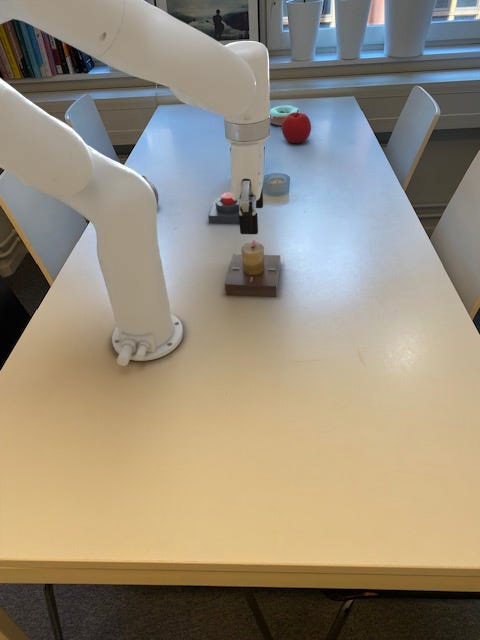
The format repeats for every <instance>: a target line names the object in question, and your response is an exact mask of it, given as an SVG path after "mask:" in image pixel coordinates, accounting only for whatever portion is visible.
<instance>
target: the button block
mask: <svg viewBox="0 0 480 640" xmlns="http://www.w3.org/2000/svg"><path fill="white" fill-rule="evenodd" d="M236 201H237V202H236V203H234V204H223V203H222V198H221V195H220V196H218V197H217V198H214V200H213V202H212V204H211V208H210V210H209V212H208V224H211V225H212V224H213V225H240V223H239V207H240V197H239V199H238V200H236Z"/></svg>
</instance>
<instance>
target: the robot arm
mask: <svg viewBox="0 0 480 640" xmlns="http://www.w3.org/2000/svg"><path fill="white" fill-rule="evenodd" d="M11 20H17V21H21V22H23V23H25V24H28V25H30V26H32V27H34V28H35V29H38V30H40V31H41V32H43V33H45V34H47V35H50V36H51V37H53V38H55V39H57V40H59V41H61V42H63V43H65V44H67V45H69V46H71V47H73V48H74V49H77V50H79V51H80V52H83V53H84V54H86V55H88V56H89V57H92V58H94V59H96V60H98V61H100V62H101V63H103V64H105V65H107V66H109V67H110V68H113V69H115V70H117V71H120V72H123V73H124V74H127V75H130V76H132V77H135V78H138V79H141V80H145V81H147V82H152V83H154V84H155V83H156V84H159V85H161V86H164V87H167V88H169V89H170V92H171V93H172V94H173V96H174V97H175V98H176V99H177V100H178V101H180V102H181V103H183V104H186V105H188V106H191V107H195V108H196V109H197V108H198V109H200V110H204V111H207V112H210V113H213V114H216V115H219V116H221V117H223V122H224V123H223V125H224V136H225V140H226V142H228V143H230V179H231V183H230V184H231V192H232V199H233V200H234V201H236V200H238V199H239V197H240V207H239V223H240V224H239V233H240V235H258V234H259V222H258V221H259V219H258V212H257V209H262V208H263V209H264V191H263V186H264V185H263V184H264V179H265V142H266V141H268V140H270V138H271V123H270V110H271V106H270V104H271V102H270V101H271V100H270V97H271V96H270V60H269V59H270V58H269V51H268V48H267V47H266V45H265V44H264V43H261V42H258V41H253V40H248V41H247V40H242V41H235V42H229V43H228V44H226V45H224V44H222V43H221V42H219V41H218V40H216V39H215V38H213V37H211V36H209V35H208V34H206V33H204V32H203V31H201V30H199V29H197V28H195V27H193V26H192V25H189V24H187V23H186V22H184V21H182V20H180V19H178V18H176V17H174V16H172V15H171V14H169V13H168V12H166V11H164V10H163V9H161V8H159V7H157V6H155V5H153V4H151V3H149V2H147V1H145V0H0V25H2V24H5V23H6V22H9V21H11ZM0 168H1V169H2V170H4V171H5V172H7V173H8V174H10V175H11V176H12V177H14V178H15V179H17V180H18V181H19V182H21V183H23V184H24V185H25V186H26V187H29V188H31V189H32V190H34V191H36V192H39V193H42V194H44V195H48V196H50V197H52V198H54V199H55V200H58V201H59V202H61V203H63V204H65V205H67V206H68V207H69V208H71V209H73V210H74V211H76V212H77V213H79V214H80V215H81V216H82V217H83V218H85V219H86V220H88V221H89V222H90V223H91V224H92V226H93V228H94V231H95V233H96V234H95V235H96V255H97V260H98V262H99V263H98V265H99V267H100V271H101V273H102V277H103V281H104V286H105V288H106V291H107V295H108V298H109V303H110V306H111V309H112V313H113V316H114V320H115V325H116V327H115V328H114V329H113V332H112V335H111V343H112V347H113V349H114V350H115V352H116V353H117V354H118V356H117V359H116V363H117V364H118V365H120V366H123V367H125V366H128V365H129V363H130V360H131V361H135V362H147V361H152V360H156V359H159V358H162V357H164V356H166V355H168V354H170V353H171V352H173V351H174V350H175V349H176V348H177V347H179V345H180V344H181V342H182V339H183V337H184V327H183V324H182V321H181V320H180V319H179V318H178V317H177V316H176V315H174V314H172V311H171V307H170V306H171V305H170V300H169V295H168V290H167V289H168V288H167V284H166V279H165V278H166V277H165V272H164V267H163V262H162V257H161V252H160V246H159V239H158V206H157V201H156V197H155V194H154V192H153V190H152V188H151V186H150V185H149V183H148V182H147V181H146V180H145V179H144V178H143V177H142V176H143V175H141V174H139V173H138V172H136V171H135V170H134V169H132V168H130V167H128V166H127V165H124V164H122V163H120V162H118V161H116V160H114V159H112V158H110V157H108V156H106V155H104V154H103V153H101V152H100V151H97V150H96V149H94V148H93V147H91V146H90V145H89V144H87V143H86V141H85V140H83V138H82V136H81V135H79V133H78V132H76V130H74V128H73V127H71V126H70V125H68V124H67V123H65V122H64V121H62V120H61V119H59V118H57V117H54V116H52V115H51V114H49V113H48V112H47V111H45V110H43V109H42V108H41V107H39V106H38V105H36V104H35V103H33V102H32V101H31V100H29V99H28V98H26V97H25V95H23V94H22V93H20V92H19V91H17V90H16V89H15V87H13V86H11V85H10V84H9V83H7V82H6V81H4V80H3V79H2V78H1V77H0Z"/></svg>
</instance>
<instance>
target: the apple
mask: <svg viewBox="0 0 480 640" xmlns="http://www.w3.org/2000/svg"><path fill="white" fill-rule="evenodd" d="M299 110H300V109H299ZM299 110H297V113H290V114H289V115H287V116H286V117H285V119H284V120H283V123H282V126H281V134H282V135H283V138H284V139H285V140H286V141H287V142H288V143H292V144H301V143H304V142H305V141H307V139H308V138H309V137H310V135H311V131H312V123H311V119H310V118H309V117H308V115H307V114H305V113H303V112H301V113H298V111H299Z"/></svg>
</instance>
